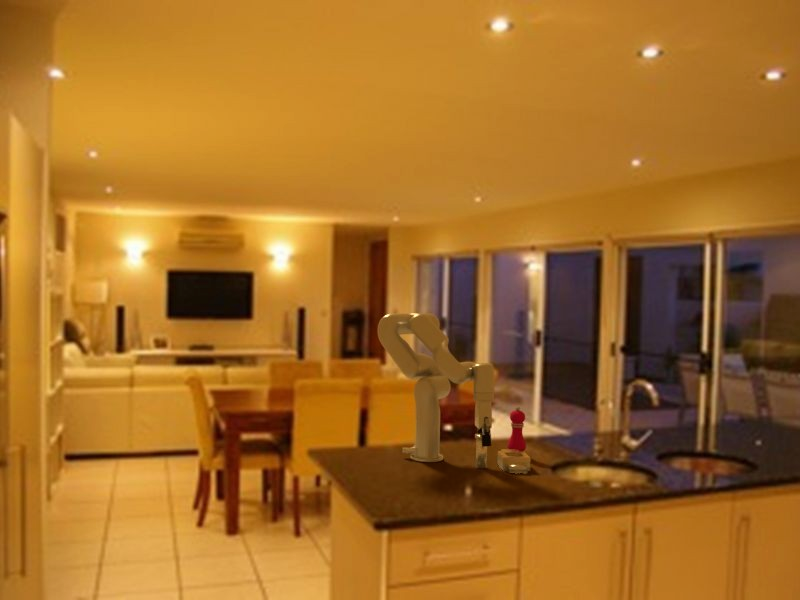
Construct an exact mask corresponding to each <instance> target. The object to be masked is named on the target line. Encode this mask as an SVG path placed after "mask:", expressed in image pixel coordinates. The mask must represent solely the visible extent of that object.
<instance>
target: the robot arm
mask: <svg viewBox="0 0 800 600" xmlns="http://www.w3.org/2000/svg"><path fill="white" fill-rule="evenodd" d="M440 326H441V324H440V319H439V318H438V317H437V316H436V315H435V314H434V313H428V312H427V313H426V312H425V313H424V312H423V313H400V312H399V313H389V314H388V313H387V314H386V315H384V316H383V317H381V318H380V320H379V322H378V324H377V338H378V340H379V342H380V344H381V346H382V347H383V349H385V352H387V354H388V355H389V356H390V357H391V359H392V360H393V361H394V363H395V364H396V365H397V367H398V369H399V370H400V372H402V374H403V375H404V377H406V378H407V379H410V380H417V379H418V380H417V381H416V382H415V385H414V387H413V394H414V404H415V423H414V424H415V425H414V426H415V429H414V430H415V431H414V445H413V446H411V447H402V453H404V454H405V453H406V454H410V459H411V460H413V461H417V462H423V463H436V462H441V461H443V459H444V455H443V454H441V453H440V442H441V441H440V440H441V438H440V437H441V432H440V431H441V408H440V402H439V400H441V399H444V398H446V397H448V395H449V394H450V392H451V390H452V389H451V387H452V386H451V382H452V383H454V384H459V385H460V384H463V383H469V382H473V402H475V407H474V426H475V427H476V428H477V433H476V434H483V435H482V446H487V447H491V446H492V432H491V429H492V426H493V425H492V424H493V422H492V421H493V416H492V415H493V414H492V413H493V409H492V403H494V402H495V367H494V365H493V364H492V363H489V362H488V363H487V362H479V363H478V362H474V361H473V362H472V361H461V362H460V361H458V360H457V358H455V357H454V355H453V354H452V353H451V351H450V350H449V347H448V345H449V341H450V339H449V337H448V336H447V335H446V334H445V333H444V332H443V331H442V330H441V329H440V328H441V327H440ZM401 335H415V336H416V338H417V339H418V340H419V341H421V343H422V344H423V345H424V346H425V347H426V349H427V350H428V351H429V352H430V353H431V355H432V357H431V356H429V355H428V354H425V353H417V352H415V350H414V349H413V348H412V347H411V345H410V344H409V342H407V341H406V340H405V339H404V338H403V337H402V336H401Z"/></svg>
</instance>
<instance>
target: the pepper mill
mask: <svg viewBox="0 0 800 600" xmlns="http://www.w3.org/2000/svg"><path fill="white" fill-rule="evenodd" d="M509 419H510V421H511V423H510V426H511V435H510V437H509V438H508V442H507V449H517V450H519V451H520V452H525V450H526V448H527V443H526V440H525V438H524V435H523V428H524V425H525V423H524V421H525V420H526V413H524V411H521V408H520V406H515V410H513V411H511V412H510V413H509Z"/></svg>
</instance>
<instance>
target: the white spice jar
mask: <svg viewBox="0 0 800 600" xmlns="http://www.w3.org/2000/svg"><path fill="white" fill-rule="evenodd" d="M482 435H483V434H477V433H475V434H474V438H475V439H476V440H475V441H476V444H475V445H476V447H475V449H476V450H475V452H476V454H475V468H476V469H478V468H486V469H487V468H488V465H487V464H488V446H482Z"/></svg>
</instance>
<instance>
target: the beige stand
mask: <svg viewBox="0 0 800 600" xmlns="http://www.w3.org/2000/svg"><path fill="white" fill-rule="evenodd" d="M498 465H499V466H498ZM497 466H498V468H499V469H502V470H503V471H502V470H501V471H502V472H508V474H510V473H515V474H514V475H521V474H520V473H523V474H522V475H527V474H528V473H529V472H528V471H530V472H531V456H529V455H528V453H526V452H525V451H523V452H520V451H519V450H517V449H508V448H501V450H500V451H499V450H498V451H497ZM518 473H519V474H518Z"/></svg>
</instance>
